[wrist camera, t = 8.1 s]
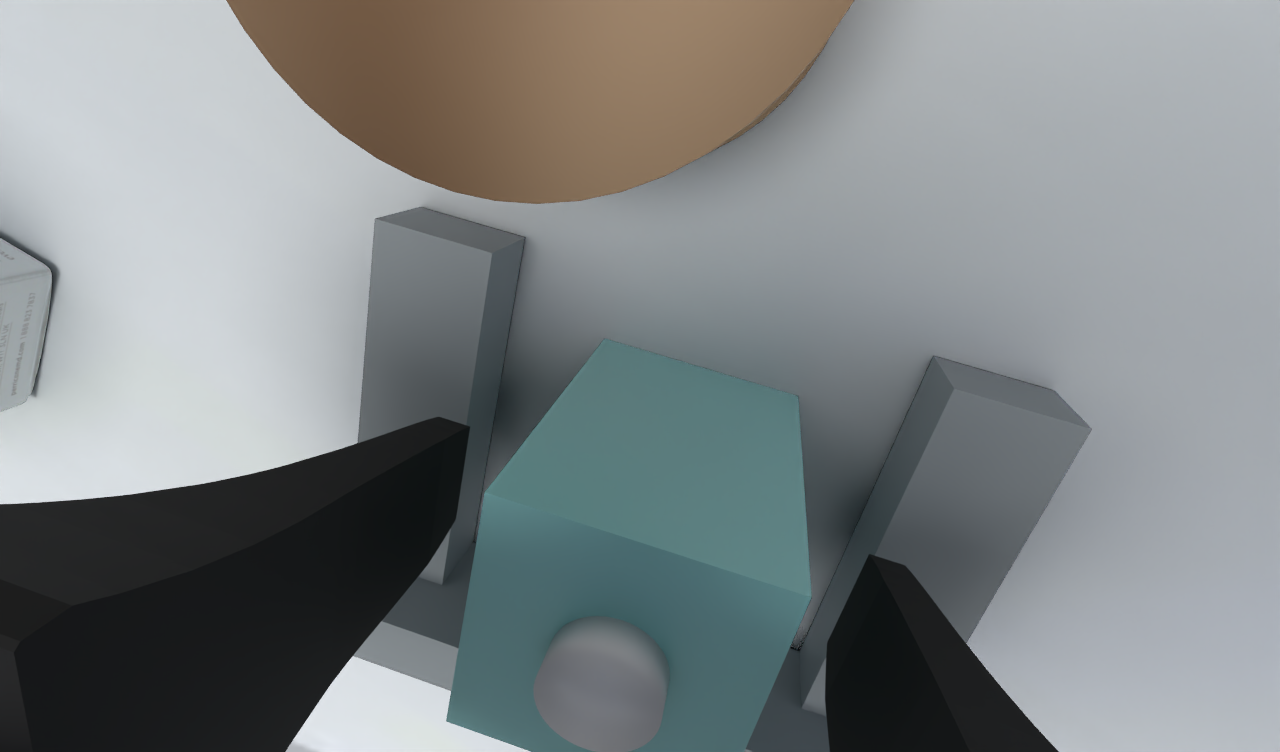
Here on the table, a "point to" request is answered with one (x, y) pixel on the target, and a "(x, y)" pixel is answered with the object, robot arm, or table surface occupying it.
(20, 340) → the skincare box
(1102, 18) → the table surface
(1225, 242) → the table surface
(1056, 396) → the gray u-shaped block
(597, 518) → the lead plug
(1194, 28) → the table surface
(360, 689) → the table surface
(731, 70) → the spool
